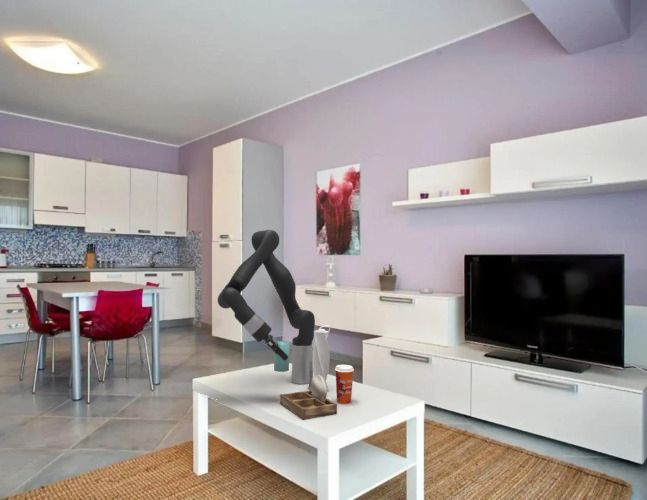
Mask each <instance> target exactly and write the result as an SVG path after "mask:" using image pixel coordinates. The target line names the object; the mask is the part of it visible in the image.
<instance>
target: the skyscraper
mask: <svg viewBox="0 0 647 500" xmlns="http://www.w3.org/2000/svg"><path fill="white" fill-rule="evenodd" d="M323 327H328V328H329V329H328V330H326V329H324V328H323ZM331 328H332V326H331V325H328V324H327V325H321V326H320V327H319V328H318V330H315V329H314V343H313V348H312V361H313V377H314V376H315V375H320V376H322V378H323V379H324V381H325V384H326V390H327V393H328V392H329V391H330V390H329V388H328V384H327V380H328V379H327V378H328V375H329V368H330V359H331V358H330V348H329V342H328V340H329V335H330V330H331ZM311 382H312V364H311V363H310V370H309V383H308V387H307V390H308V391H309V390H311Z"/></svg>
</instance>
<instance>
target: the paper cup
mask: <svg viewBox="0 0 647 500" xmlns="http://www.w3.org/2000/svg"><path fill="white" fill-rule="evenodd" d="M334 371H335V383H336V384H335V385H336V386H335V387H336V388H335V389H336V402H337V403H338V404H343V405H347V404H350V403H351V402H352V395H353V381H354V380H353V378H354V377H353V376H354V371H355V369H354V367H353V366H352V365H350V364H337V365H336V366H335V368H334Z"/></svg>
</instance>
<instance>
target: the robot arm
mask: <svg viewBox="0 0 647 500" xmlns="http://www.w3.org/2000/svg"><path fill="white" fill-rule="evenodd" d="M251 244H252V248H253V249H254V252H253V253H252V254H251V255H250V256H249V257H248V258H247V259H245V260H244V261H243V262H242V263H241V264H240V265H239V266H238V267H237V269H236V271H234V273H233V275H232V276H231V278H230V280H229V281H228V283H227V284H226V285H225V286H224V287H223V289H222V290H221V292H220V293H219V295H218V297H217V303H218V306H219V307H220V308H223V309H226V310H227V309H231V310H232V311H233V313H234V318H235V319H236V320H237V321H238V322H239V324H241V326H242V327H243V328H244V330H246V331H247V333H248V334H249V335H250V336H251V337H252V338H253V339H254V340H255V341H256V342H257V343H260V342H262V341H263V340H264V341H265V345H266V346H267V347H268V348H269V349H270V350H271V351H273V352H275V353H276V354H278V355H279V356H280V357H281V358H282V359H283V360H284V361H285V360H286V359H287V358H288V356H287V355H286V353H285V352H284V351H283V350H282V349H281V348H280V347H279V344H278V343H277V342H278V341H279V340H277V339H276V338H275V336H274V335H272V334H270V333H271V331H272V330H273V329H272V327H271V326H270V325H269V324H268V323H267V322H266V321H265V320H264V319H263V318H262V317H261V316H260V315H258V313H256V312H255V311H254V310H253V309H252V308H251V307H250V306H249V305H248V303H247V301H246V300H245V297H243V295H242V294H241V293H242V292H243V290H244V289H246V288H247V286H248V285H249V284H250V281H251V280H252V279H253V277H254V275H256V273H257V272H258V270H259V268H260V267H261V266H262V265H263V266H264V268H265V270H266V272H267V274H268V276H269V277H270V280H271V282H272V285H273V287H274V288H275V290H276V293H277V295H278V297H279V299H280V301H281V303H282V306H283V308H284V310H285V314H286V316H287V319H288V323H289V324H290V326H292V328H293V329H297V330H298V335H297V336H294V337H293V338H292V343H291V344H292V345H291V346H292V347H291V349H292V350H291V352H292V353H291V383H293V384H298V385H305V384H306V385H308V384H309V370H310V363H311V364H312V379H313V377H314V373H313V341H314V339H315V336H314V331H315V328H316V327H315V326H316V318H315V314H314V312H312V311H311V310H307V309H302V308H301V307H300V305H299V303H298V302H297V299H296V291H297V289H296V282H295V280H294V277H293V275H292V273H291V272H290V270H289V269H288V267H286V266H285V264H283V263H282V262H281V261H280V260H279V259H278V258H277V257H276V255H275V254H274V251H275V250H276V249H277V248H278V246H279V244H280V236H279V234H278V232H277V231H276V230H274V229H265V230H258V231H255V232H254V233H252V236H251ZM276 348H278V350H277V351H276Z"/></svg>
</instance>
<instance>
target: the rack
mask: <svg viewBox="0 0 647 500" xmlns="http://www.w3.org/2000/svg"><path fill="white" fill-rule="evenodd" d="M327 395H328V392H327V390H326V384H325V381H324V379H323V378H322V376H320V375H315V376H314V375H313V379H312V382H311V390H309V389H308V390H305V391H296V392H289V393H283V394H282V393H281V394H279V404H280V405H281V406H282V407H284V408H285V409H287V410H288V411H290V412H291V413H292V414H294V415H295V416H297V417H298V418H300V419H301V420H303V421H304V420H310V419H315V418H320V417H327V416H332V415H333V416H334V415H337V414H338V404H337V403H336V402H334V401H332V400H330V399H329V398H327V397H328V396H327Z"/></svg>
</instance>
